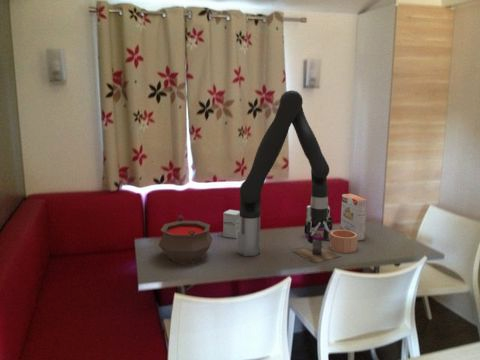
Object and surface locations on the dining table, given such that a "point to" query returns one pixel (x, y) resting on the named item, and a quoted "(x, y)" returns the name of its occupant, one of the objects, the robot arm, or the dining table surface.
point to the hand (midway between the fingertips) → (318, 241)
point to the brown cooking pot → (185, 240)
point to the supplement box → (231, 223)
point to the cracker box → (354, 214)
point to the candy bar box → (319, 232)
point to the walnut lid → (316, 253)
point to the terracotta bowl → (343, 241)
